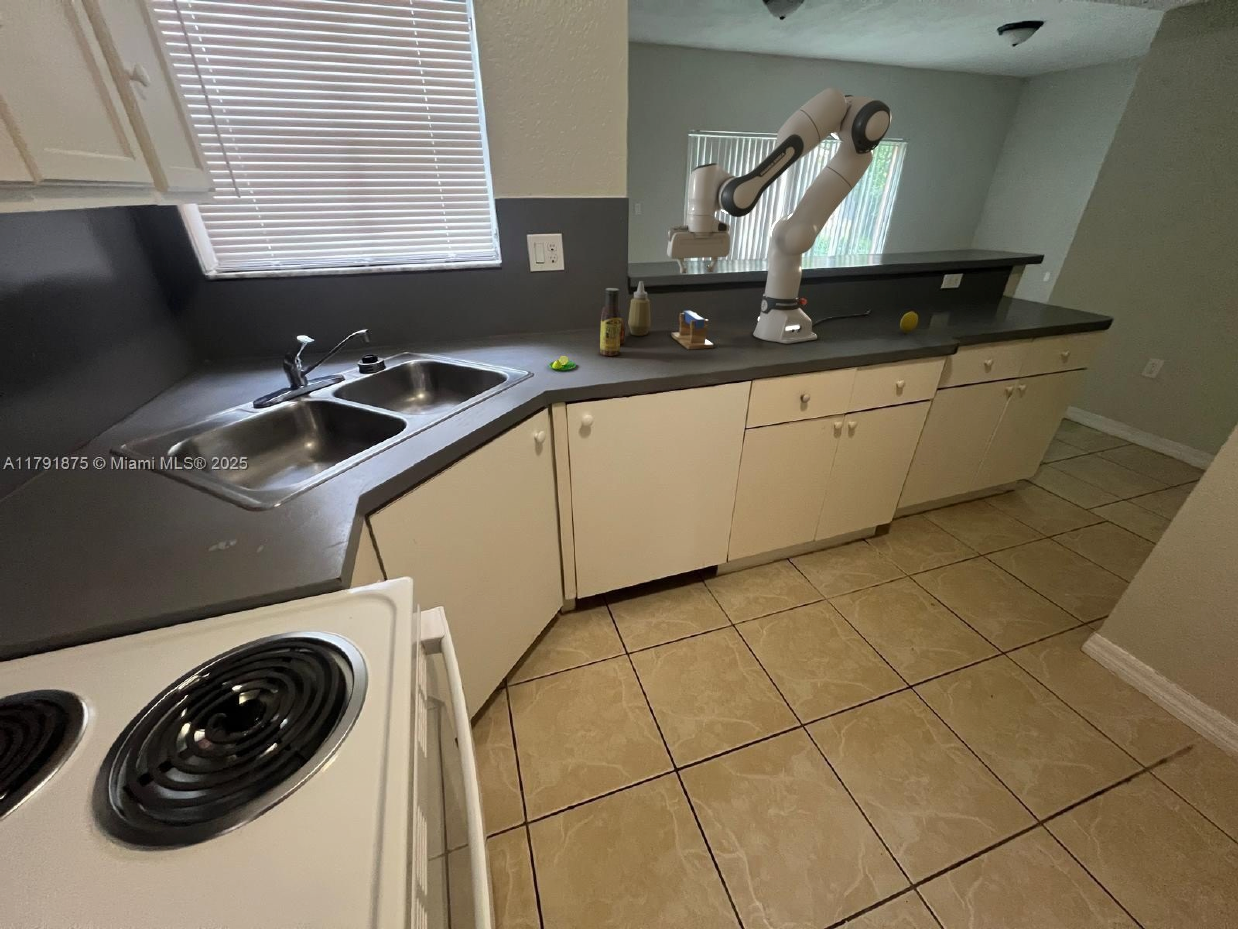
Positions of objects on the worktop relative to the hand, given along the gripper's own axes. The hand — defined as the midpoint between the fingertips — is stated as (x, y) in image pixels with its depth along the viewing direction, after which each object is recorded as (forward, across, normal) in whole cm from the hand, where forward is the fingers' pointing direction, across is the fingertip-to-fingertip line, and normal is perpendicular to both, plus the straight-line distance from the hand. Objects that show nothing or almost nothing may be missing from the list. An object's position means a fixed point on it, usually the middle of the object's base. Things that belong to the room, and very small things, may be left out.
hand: (696, 272), depth 157 cm
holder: (+23, 0, 0) cm, 23 cm away
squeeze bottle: (+22, -15, +13) cm, 30 cm away
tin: (+22, -26, +6) cm, 35 cm away
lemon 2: (+22, -48, -16) cm, 55 cm away
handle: (+16, 0, 0) cm, 16 cm away
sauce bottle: (+22, -31, -7) cm, 39 cm away
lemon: (+24, +85, -6) cm, 89 cm away
